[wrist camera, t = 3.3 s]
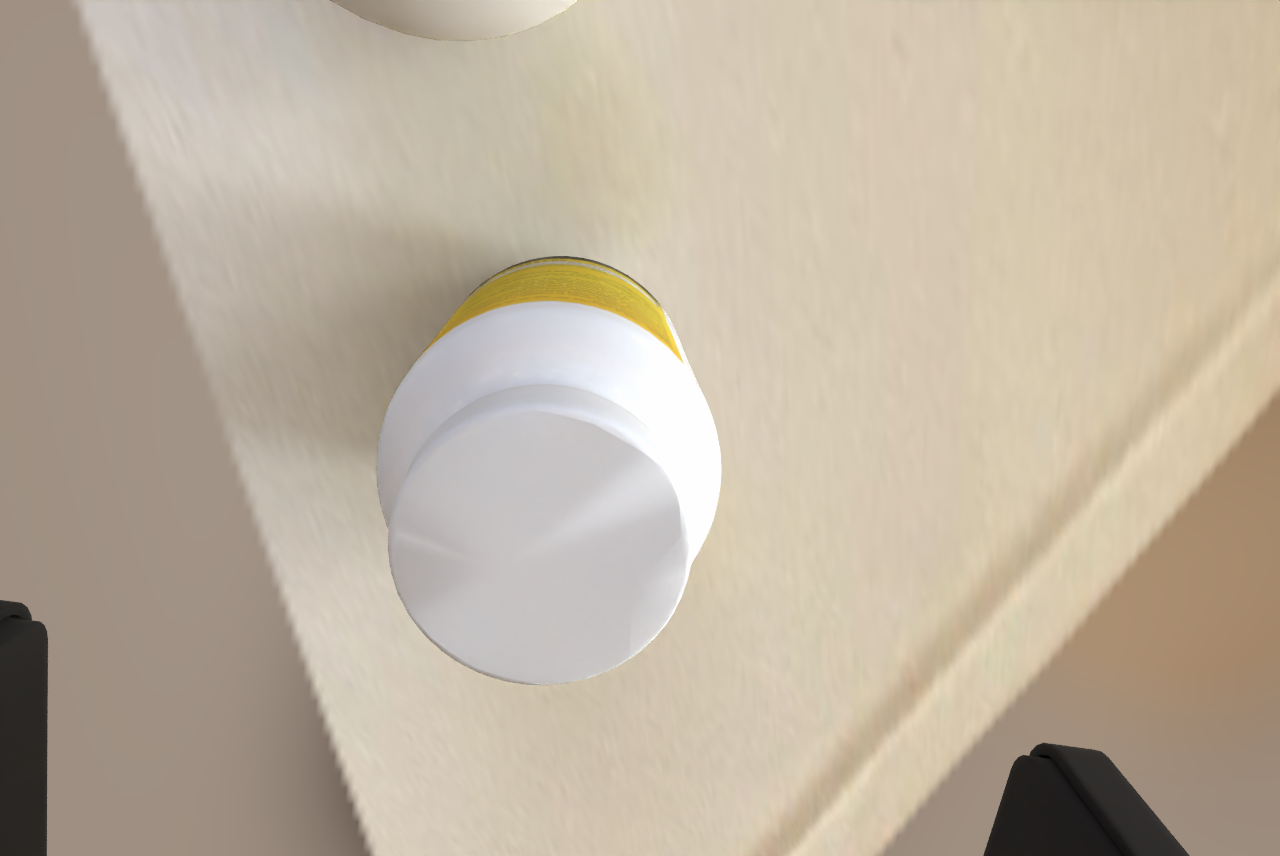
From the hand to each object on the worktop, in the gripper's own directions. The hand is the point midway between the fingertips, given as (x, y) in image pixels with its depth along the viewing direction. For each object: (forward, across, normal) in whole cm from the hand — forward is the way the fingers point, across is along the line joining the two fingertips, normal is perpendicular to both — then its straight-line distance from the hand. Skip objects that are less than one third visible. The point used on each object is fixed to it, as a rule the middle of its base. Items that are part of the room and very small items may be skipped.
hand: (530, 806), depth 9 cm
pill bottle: (+17, 0, 0) cm, 17 cm away
